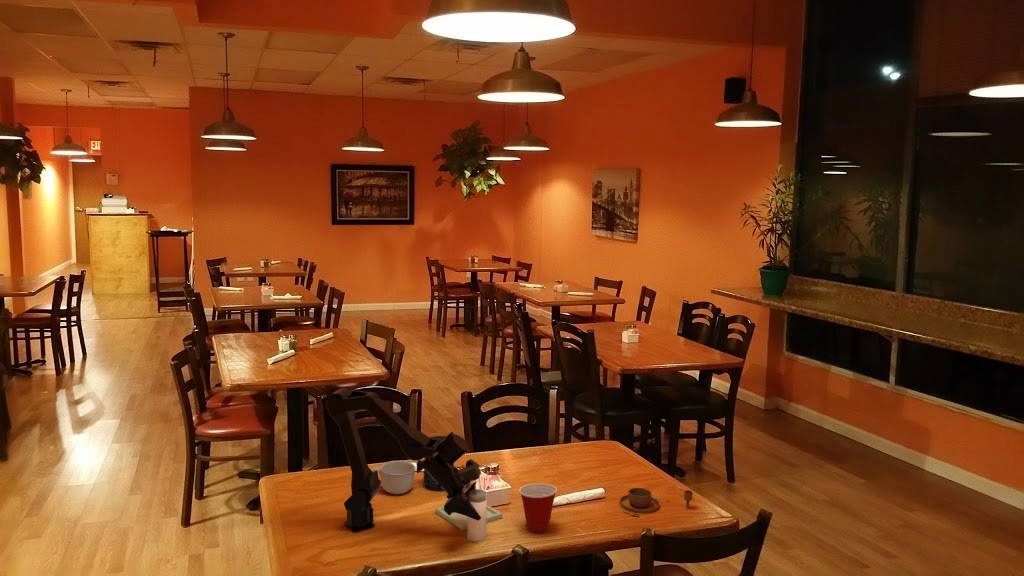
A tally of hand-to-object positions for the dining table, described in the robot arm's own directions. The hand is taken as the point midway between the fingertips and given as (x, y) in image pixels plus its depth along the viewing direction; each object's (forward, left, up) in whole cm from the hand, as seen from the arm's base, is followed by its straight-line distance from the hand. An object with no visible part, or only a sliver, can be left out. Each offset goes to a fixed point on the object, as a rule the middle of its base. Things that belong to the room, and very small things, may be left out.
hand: (481, 514), depth 212 cm
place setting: (+53, -14, -7) cm, 56 cm away
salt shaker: (-1, +1, -7) cm, 7 cm away
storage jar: (+10, +37, -7) cm, 39 cm away
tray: (+5, +13, -7) cm, 16 cm away
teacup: (-4, +42, -7) cm, 43 cm away
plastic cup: (+16, -5, -7) cm, 18 cm away
